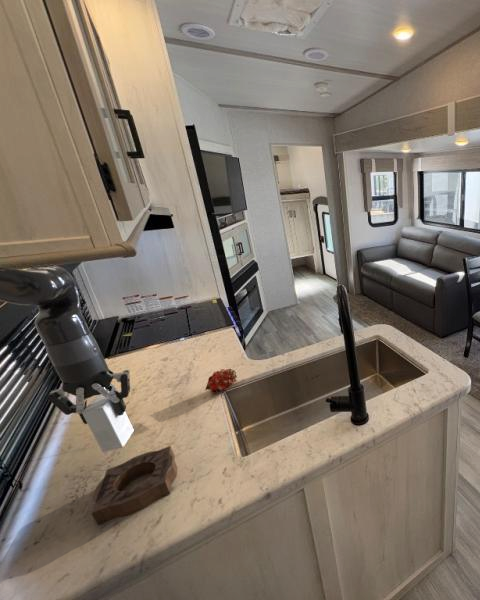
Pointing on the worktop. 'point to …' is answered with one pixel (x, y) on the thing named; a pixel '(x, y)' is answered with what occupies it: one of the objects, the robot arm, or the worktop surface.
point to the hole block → (124, 503)
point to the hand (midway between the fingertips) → (107, 417)
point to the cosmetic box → (107, 424)
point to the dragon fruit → (221, 380)
